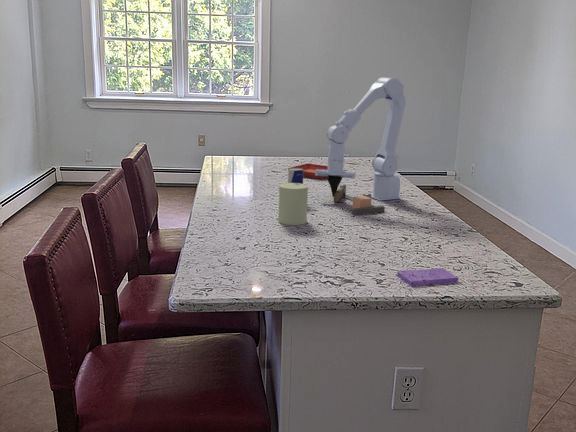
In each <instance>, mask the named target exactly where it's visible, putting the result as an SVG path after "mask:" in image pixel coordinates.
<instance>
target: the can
mask: <svg viewBox="0 0 576 432" xmlns="http://www.w3.org/2000/svg"><path fill="white" fill-rule="evenodd" d="M278 187H279V188H278V192H279V193H278V218H277V222H278V223H279V224H282V225H287V226H301V225H305V224H307V222H308V216H307V215H308V196H309V195H308V191H309V185H307V184H304V183H303V184H301V183H288V182H285V183H281V184H279V185H278Z"/></svg>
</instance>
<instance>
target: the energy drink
mask: <svg viewBox="0 0 576 432" xmlns="http://www.w3.org/2000/svg"><path fill="white" fill-rule="evenodd" d="M289 168H290V167H289ZM287 183H301V184H304V177H303V169H301V168H290V169H289V170H288V172H287Z"/></svg>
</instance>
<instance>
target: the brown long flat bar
mask: <svg viewBox="0 0 576 432" xmlns="http://www.w3.org/2000/svg"><path fill="white" fill-rule="evenodd" d="M343 192H344V187H340V186H339V187H338V189H337V191H336V192H335V193H334V197H333V203H336V204H337V203H338V202H339V201H340V200H341V198H343V197H342V196H343Z"/></svg>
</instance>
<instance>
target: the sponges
mask: <svg viewBox="0 0 576 432" xmlns="http://www.w3.org/2000/svg"><path fill="white" fill-rule="evenodd" d="M396 277H398V278H399V279H400V278H401V279H400V280H402V281H403V280H404V281H403V282H404V283H406V284H407V283H408V284H409V285H408V284H407V285H408V286H410V287H414V286H415V285H417V286H426V284H428V285H439V283H440V284H450V283H451V284H452V283H454V284H455V283H457V282H459V277H458V276H457V275H455V274H454V273H451V272H449V271H447V270H446V269H445V268H444V267H440V268H439V267H438V268H437V267H436V268H427V269H425V268H424V269H407V270H405V269H401V270H397V275H396Z"/></svg>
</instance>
